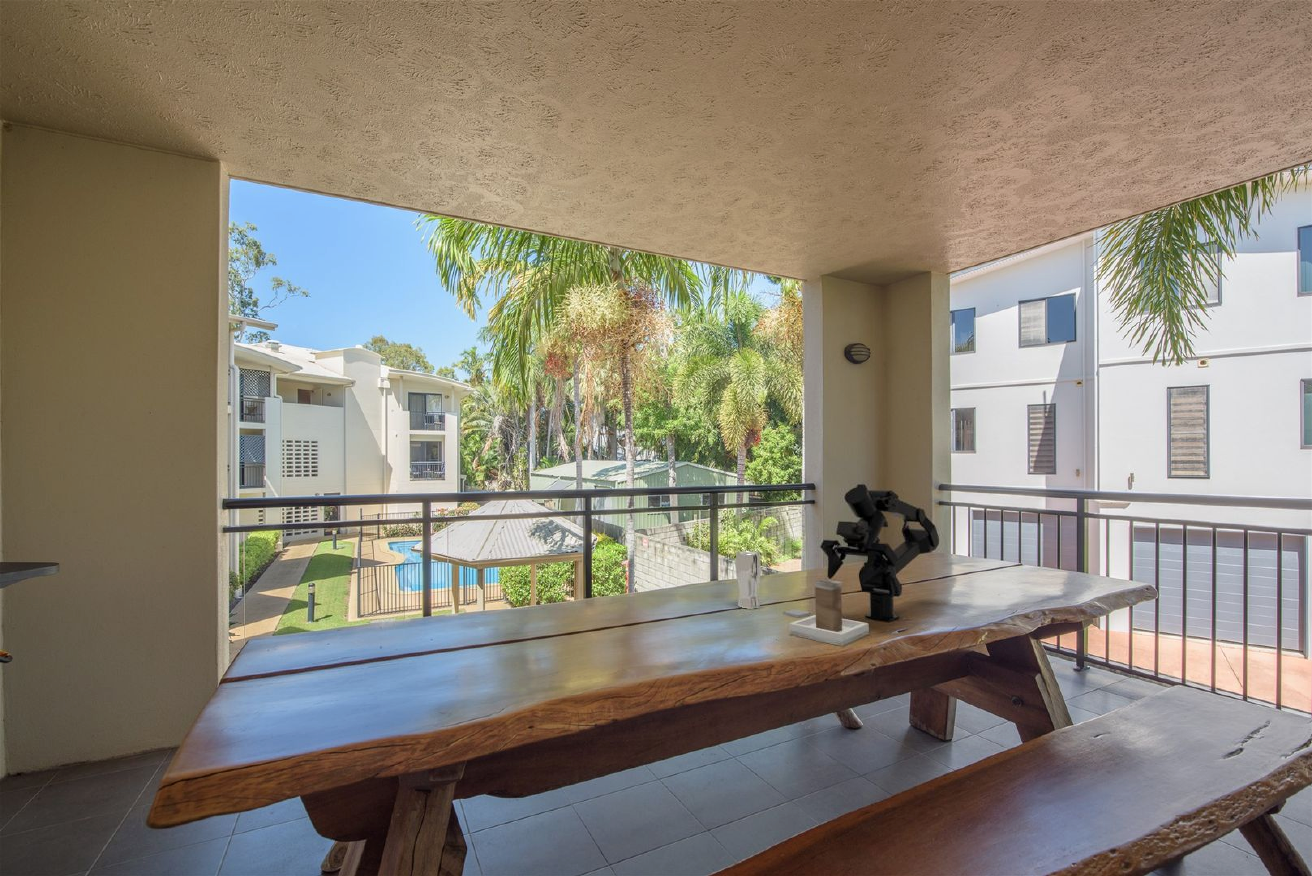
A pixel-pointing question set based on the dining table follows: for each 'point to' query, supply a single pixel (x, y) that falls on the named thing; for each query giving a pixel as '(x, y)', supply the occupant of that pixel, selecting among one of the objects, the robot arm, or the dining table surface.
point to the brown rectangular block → (828, 605)
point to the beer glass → (748, 578)
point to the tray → (841, 638)
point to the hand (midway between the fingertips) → (844, 579)
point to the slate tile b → (797, 613)
